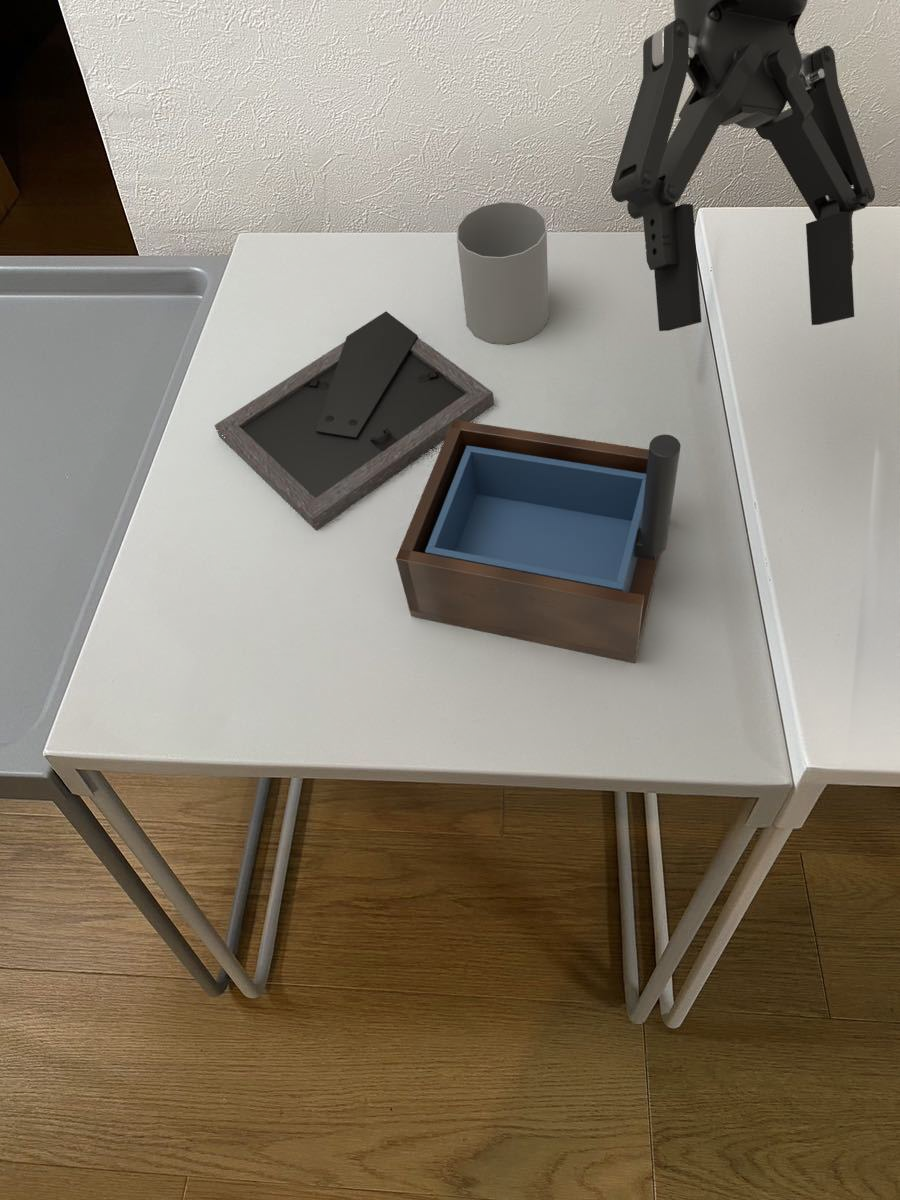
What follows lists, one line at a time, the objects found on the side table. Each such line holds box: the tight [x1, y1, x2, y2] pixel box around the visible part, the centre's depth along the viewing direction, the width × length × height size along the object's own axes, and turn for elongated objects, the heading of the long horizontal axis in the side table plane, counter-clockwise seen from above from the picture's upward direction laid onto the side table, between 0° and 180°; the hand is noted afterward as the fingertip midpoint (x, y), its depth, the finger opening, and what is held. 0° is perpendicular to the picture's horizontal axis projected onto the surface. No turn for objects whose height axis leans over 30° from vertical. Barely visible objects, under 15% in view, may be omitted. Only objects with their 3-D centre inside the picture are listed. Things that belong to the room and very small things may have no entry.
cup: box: [456, 201, 550, 346], centre depth 90 cm, size 8×8×10 cm
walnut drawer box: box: [395, 420, 661, 664], centre depth 73 cm, size 18×14×8 cm
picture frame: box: [213, 310, 495, 531], centre depth 87 cm, size 16×2×21 cm
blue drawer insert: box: [425, 434, 681, 592], centre depth 69 cm, size 17×11×15 cm, turn 73°
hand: (760, 324), depth 58 cm, fingers open, 13 cm apart
